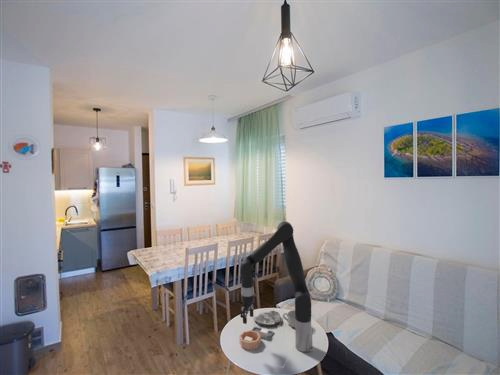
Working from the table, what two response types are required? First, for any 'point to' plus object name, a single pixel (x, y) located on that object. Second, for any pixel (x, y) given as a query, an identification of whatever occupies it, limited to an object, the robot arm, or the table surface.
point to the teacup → (290, 318)
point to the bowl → (251, 344)
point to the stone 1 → (248, 339)
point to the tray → (259, 333)
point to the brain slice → (267, 318)
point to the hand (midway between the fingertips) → (248, 319)
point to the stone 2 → (264, 333)
